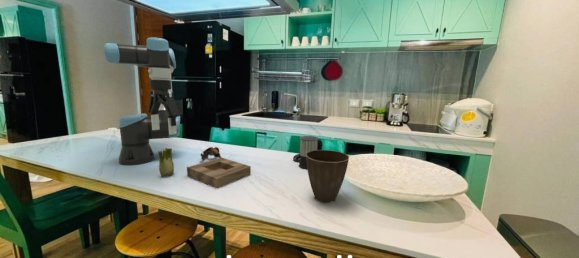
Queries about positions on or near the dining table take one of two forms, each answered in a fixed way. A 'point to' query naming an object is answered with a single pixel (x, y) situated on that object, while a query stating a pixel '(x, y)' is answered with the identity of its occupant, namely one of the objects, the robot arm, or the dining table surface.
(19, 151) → the dining table surface
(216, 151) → the brown animal figurine
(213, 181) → the tray
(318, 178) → the plant pot
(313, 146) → the milk frother
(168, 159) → the fennel bulb
